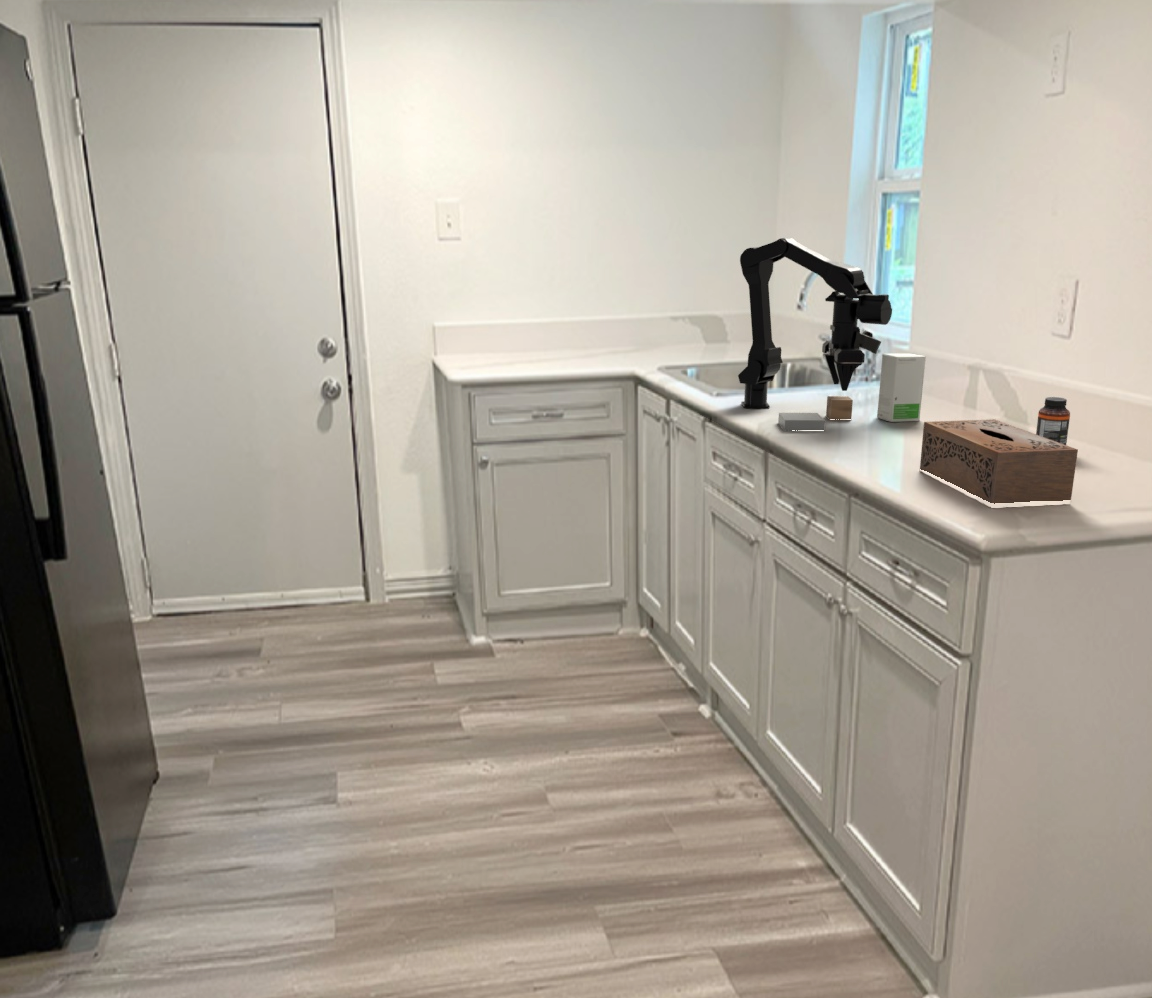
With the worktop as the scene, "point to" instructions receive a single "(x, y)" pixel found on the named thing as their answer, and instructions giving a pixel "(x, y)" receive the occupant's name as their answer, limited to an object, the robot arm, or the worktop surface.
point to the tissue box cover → (998, 461)
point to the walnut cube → (839, 407)
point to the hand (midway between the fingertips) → (840, 387)
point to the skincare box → (901, 387)
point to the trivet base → (801, 421)
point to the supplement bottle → (1054, 420)
